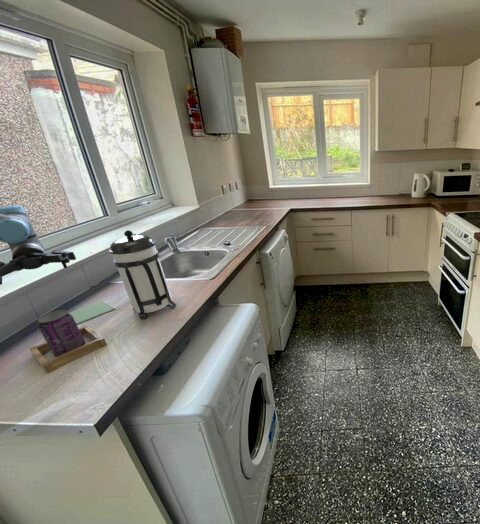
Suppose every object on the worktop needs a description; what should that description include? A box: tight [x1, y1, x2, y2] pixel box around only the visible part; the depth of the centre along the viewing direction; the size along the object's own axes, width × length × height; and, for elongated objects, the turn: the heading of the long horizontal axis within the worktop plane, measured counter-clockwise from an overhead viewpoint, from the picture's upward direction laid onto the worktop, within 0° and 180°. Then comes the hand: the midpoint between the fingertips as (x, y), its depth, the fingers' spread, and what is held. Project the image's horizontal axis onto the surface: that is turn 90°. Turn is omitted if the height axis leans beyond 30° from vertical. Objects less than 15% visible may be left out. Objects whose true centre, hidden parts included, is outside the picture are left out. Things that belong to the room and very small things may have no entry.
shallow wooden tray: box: [29, 324, 108, 374], centre depth 85 cm, size 14×13×2 cm
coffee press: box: [108, 229, 177, 321], centre depth 99 cm, size 17×16×30 cm
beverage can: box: [37, 309, 86, 357], centre depth 83 cm, size 7×7×12 cm
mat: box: [68, 300, 116, 325], centre depth 105 cm, size 12×12×1 cm
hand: (32, 271), depth 83 cm, fingers open, 13 cm apart
